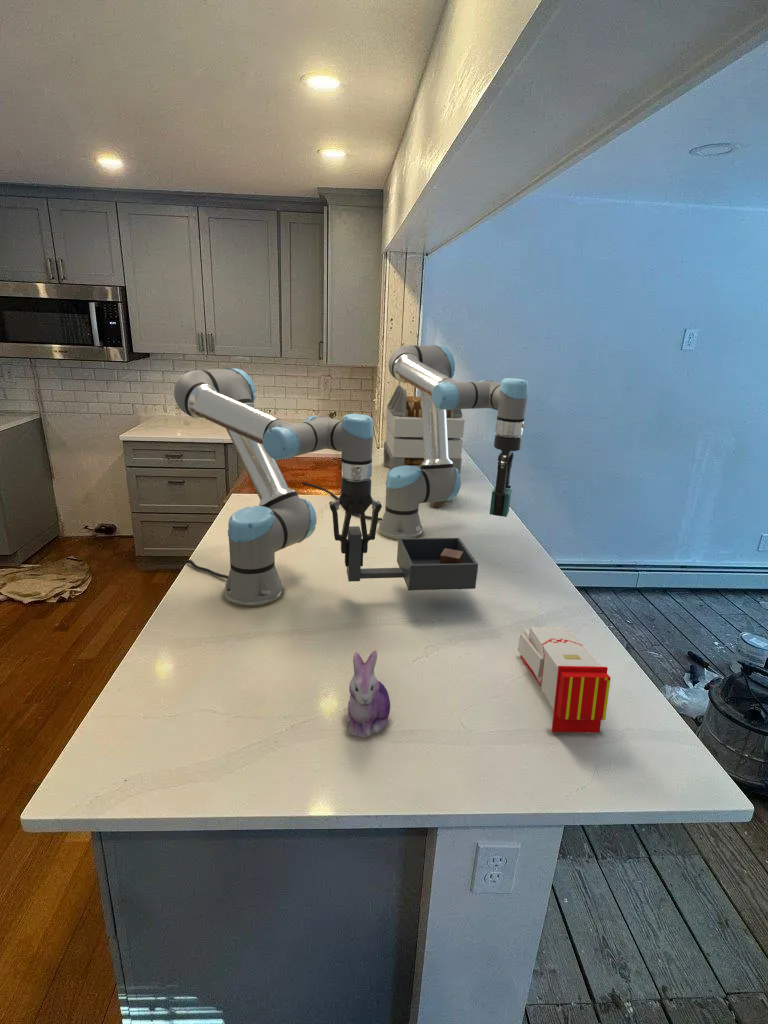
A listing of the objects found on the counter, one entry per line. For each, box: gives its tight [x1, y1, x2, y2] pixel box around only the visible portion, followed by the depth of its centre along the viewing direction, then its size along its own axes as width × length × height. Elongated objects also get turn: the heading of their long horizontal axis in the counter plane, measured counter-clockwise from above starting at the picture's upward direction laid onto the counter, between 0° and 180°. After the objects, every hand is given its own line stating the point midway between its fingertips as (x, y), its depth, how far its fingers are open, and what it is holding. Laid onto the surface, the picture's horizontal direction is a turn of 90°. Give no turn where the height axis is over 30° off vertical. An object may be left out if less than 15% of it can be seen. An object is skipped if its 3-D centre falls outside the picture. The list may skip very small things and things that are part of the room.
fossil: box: [428, 499, 453, 509], centre depth 235 cm, size 22×10×15 cm
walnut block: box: [439, 548, 463, 564], centre depth 149 cm, size 5×5×7 cm
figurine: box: [346, 650, 391, 738], centre depth 106 cm, size 9×10×15 cm
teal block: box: [489, 486, 513, 518], centre depth 167 cm, size 5×5×7 cm
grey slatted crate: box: [383, 384, 465, 475], centre depth 268 cm, size 34×33×41 cm
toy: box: [517, 626, 611, 734], centre depth 119 cm, size 12×13×30 cm
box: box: [346, 525, 479, 592], centre depth 150 cm, size 32×18×13 cm, turn 99°
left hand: (353, 563), depth 148 cm, fingers closed on box, 3 cm apart
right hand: (499, 512), depth 168 cm, fingers closed on teal block, 5 cm apart
